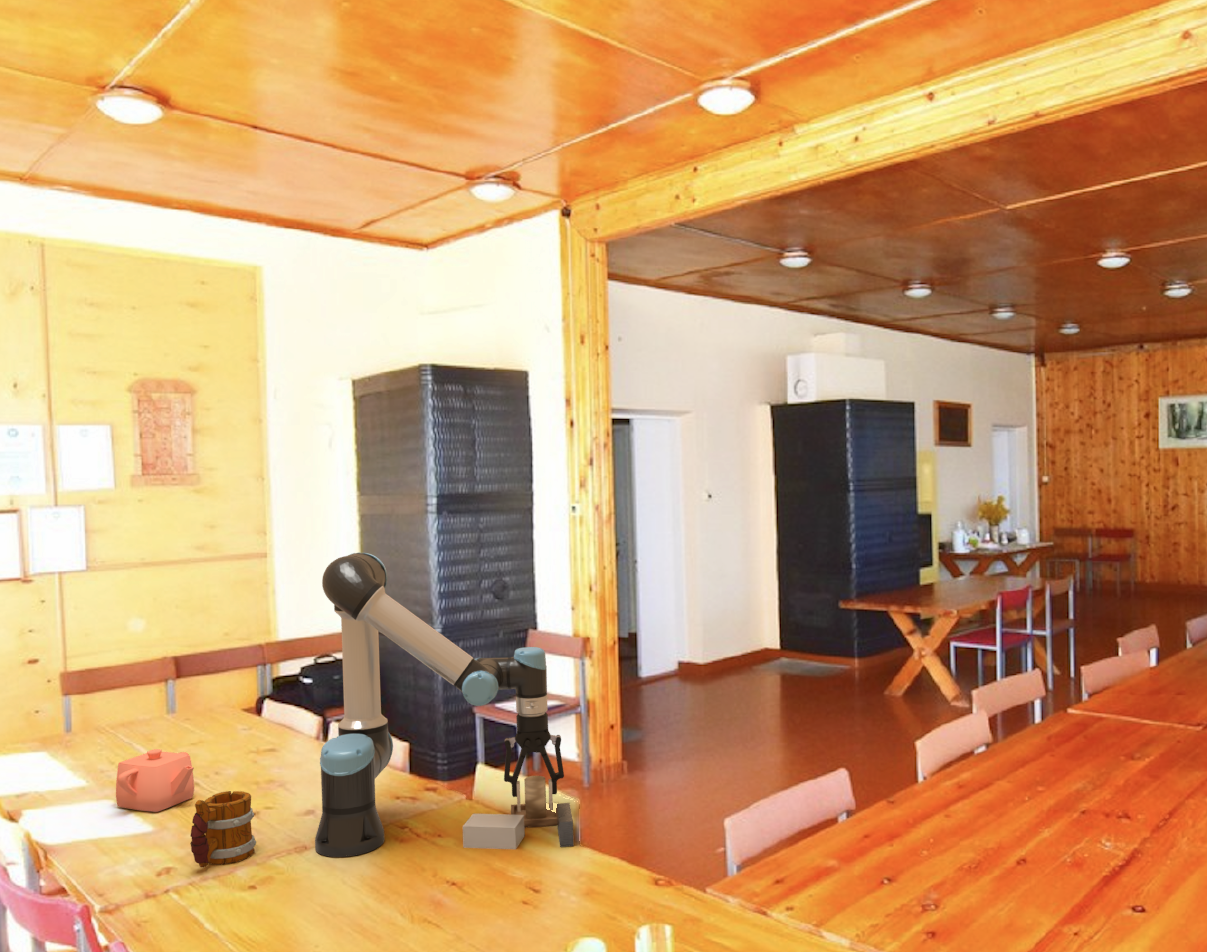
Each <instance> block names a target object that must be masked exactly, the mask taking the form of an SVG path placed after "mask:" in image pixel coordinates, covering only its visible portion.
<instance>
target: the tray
mask: <svg viewBox="0 0 1207 952" xmlns="http://www.w3.org/2000/svg"><path fill="white" fill-rule="evenodd" d="M520 805H521V812H518V811H517V804H516V803H515V804H510V815H524V829H526V827H527V828H537V827H539V828H541V827H555V826H557V808H556V813H555V812H552V811H551V810H547V809H546V818H541V819H526V814H525V803H520Z"/></svg>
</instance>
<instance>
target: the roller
mask: <svg viewBox="0 0 1207 952" xmlns="http://www.w3.org/2000/svg"><path fill="white" fill-rule="evenodd" d="M546 786H547V785H546V777H545V776H542V775H531V776H530V775H529V776H527V777H525V778H524V804H525V814H526V819H541V818H546V803H547V791H546Z"/></svg>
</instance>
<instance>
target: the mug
mask: <svg viewBox="0 0 1207 952" xmlns="http://www.w3.org/2000/svg"><path fill="white" fill-rule="evenodd" d="M251 804H252V795H251V794H250V793H249V792H246V791H241V790H238V791H237V790H235V791H234V790H233V791H230V790H226V791H222V792H217V793H215V794H213V795H212V796H209V797H208V798H206V799H205V800H202V799H199V800H196V803H194V807H195V813H194V815H193V816H192V817H193V818H192V821H191V823H192V824H193V825H192V826H191V830H190V837H191V841H190V851H191V853H192V855H193V857H194V862H196V863H197V864H198V865H199V868H206V867H208V866H209V864H210V865H221V864H222V865H225V864H226V865H228V864H229V865H230V864H232V863H237V862H241V861H243V860H246V859H247V858H250V857H251V856H253V855H254V853H255V847H256V845H257V841H256V839H255V836H254V834H253V833H252V832H253V831H252V819H253V818H254V817H255V813H254V812H253V808H252V807H251V806H252V805H251ZM249 856H250V857H249Z"/></svg>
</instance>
